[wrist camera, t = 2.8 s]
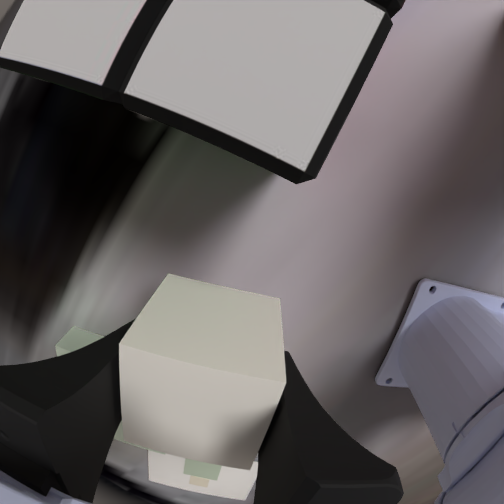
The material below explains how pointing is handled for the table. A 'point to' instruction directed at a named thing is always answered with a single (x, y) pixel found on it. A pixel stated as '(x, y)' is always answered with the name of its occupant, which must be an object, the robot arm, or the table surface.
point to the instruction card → (201, 476)
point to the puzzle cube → (214, 66)
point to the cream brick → (202, 372)
